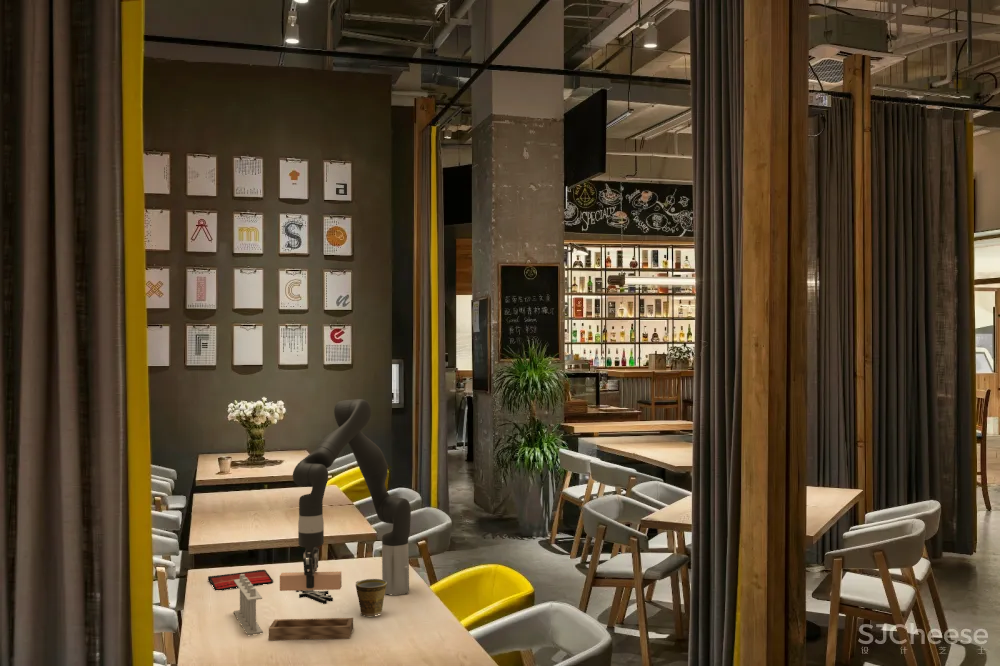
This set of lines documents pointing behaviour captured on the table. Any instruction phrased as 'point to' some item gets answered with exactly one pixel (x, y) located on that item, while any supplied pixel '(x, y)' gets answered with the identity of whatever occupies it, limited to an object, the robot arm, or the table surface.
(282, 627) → the shallow wooden tray
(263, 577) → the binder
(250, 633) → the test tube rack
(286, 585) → the clay strip
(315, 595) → the dark angular piece
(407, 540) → the robot arm
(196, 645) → the table surface
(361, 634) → the table surface
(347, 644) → the table surface
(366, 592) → the ceramic cup
